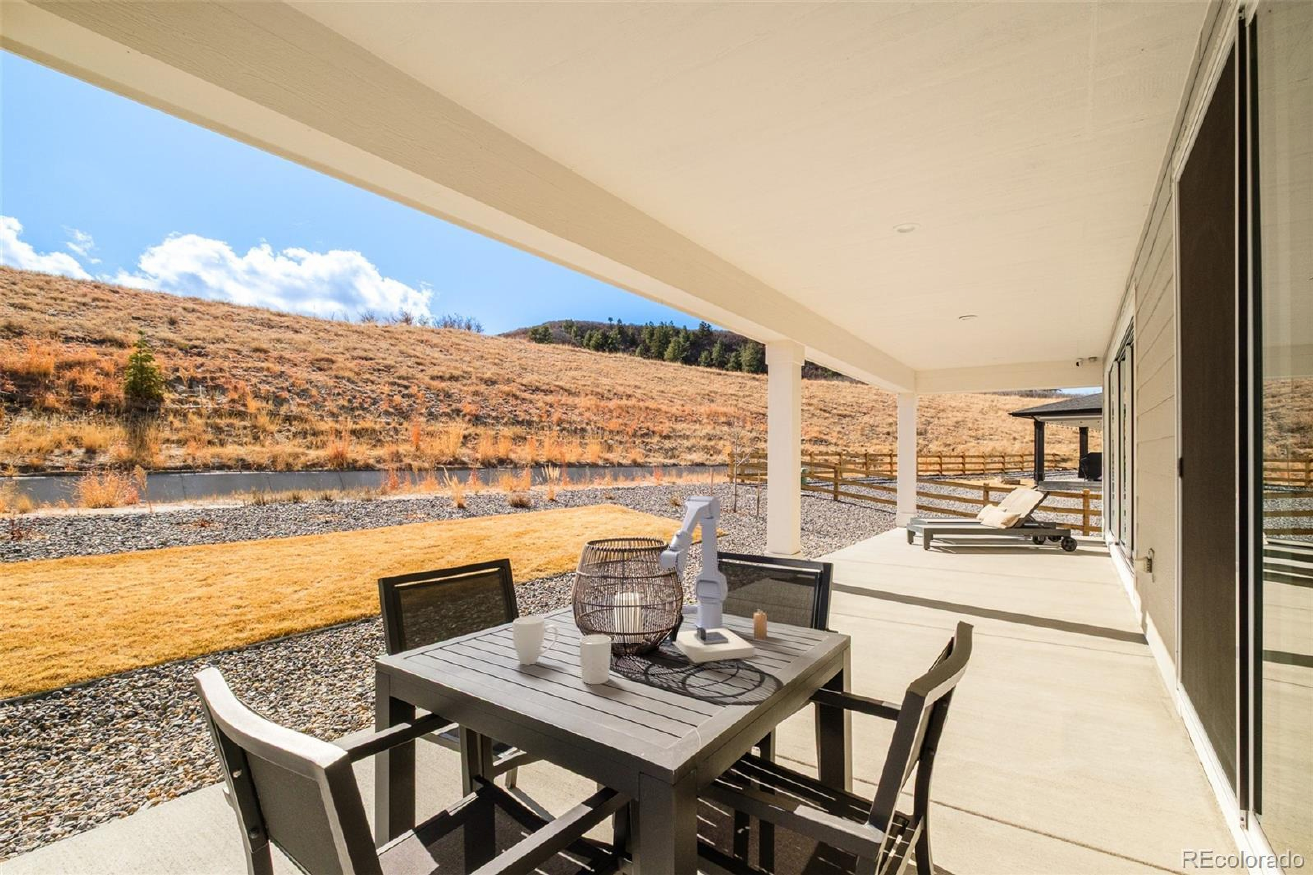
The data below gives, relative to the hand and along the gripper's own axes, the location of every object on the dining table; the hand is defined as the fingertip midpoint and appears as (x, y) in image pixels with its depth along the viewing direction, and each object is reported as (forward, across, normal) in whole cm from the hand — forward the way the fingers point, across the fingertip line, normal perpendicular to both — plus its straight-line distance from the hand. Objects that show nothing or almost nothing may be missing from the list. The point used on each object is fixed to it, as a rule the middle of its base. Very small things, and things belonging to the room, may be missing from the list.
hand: (672, 641), depth 169 cm
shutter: (+1, +12, 0) cm, 12 cm away
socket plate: (+3, +12, 0) cm, 12 cm away
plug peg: (+3, +31, +6) cm, 32 cm away
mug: (+3, -38, +3) cm, 38 cm away
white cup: (+3, -25, -14) cm, 29 cm away
